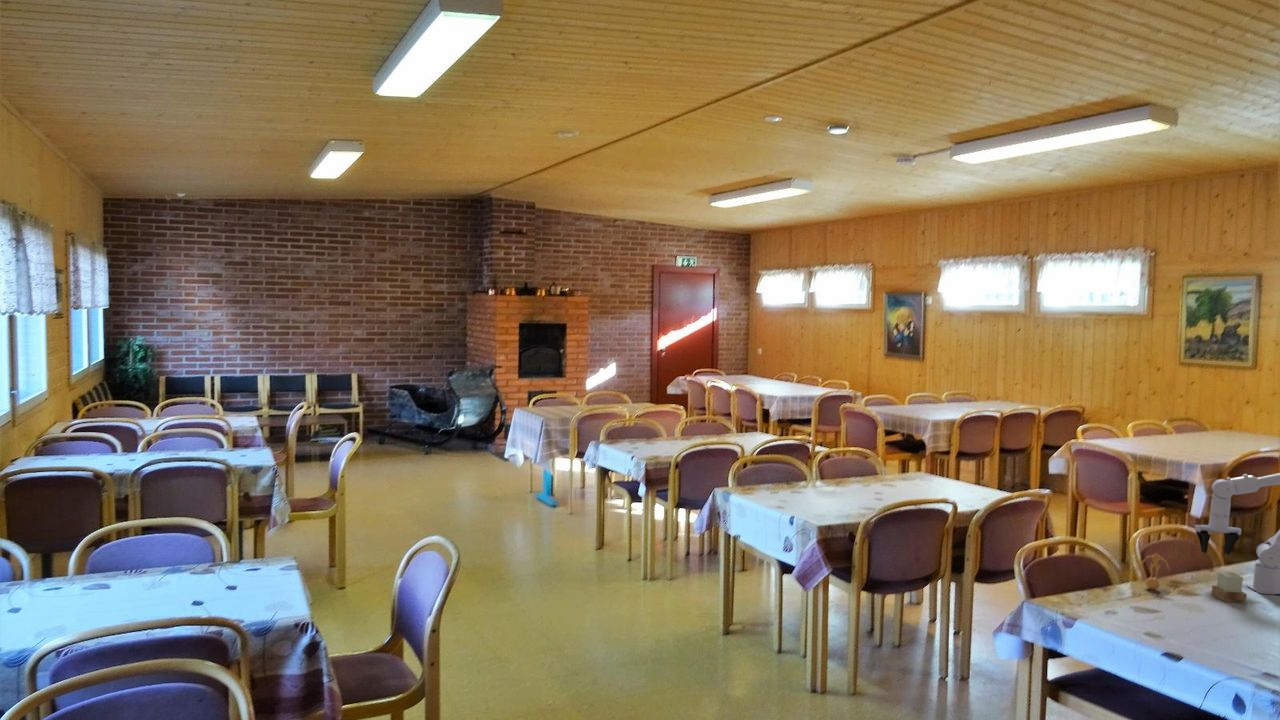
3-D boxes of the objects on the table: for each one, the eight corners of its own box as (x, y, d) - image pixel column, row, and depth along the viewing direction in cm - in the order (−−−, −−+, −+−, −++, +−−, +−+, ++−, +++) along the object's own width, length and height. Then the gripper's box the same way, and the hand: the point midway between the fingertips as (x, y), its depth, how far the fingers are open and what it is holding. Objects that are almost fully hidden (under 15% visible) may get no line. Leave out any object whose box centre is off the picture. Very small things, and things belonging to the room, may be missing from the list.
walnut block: (1233, 595, 304) (1234, 587, 304) (1245, 603, 297) (1246, 594, 297) (1211, 594, 304) (1212, 585, 304) (1223, 601, 297) (1224, 592, 297)
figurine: (1137, 587, 308) (1140, 552, 306) (1140, 583, 312) (1143, 549, 311) (1165, 593, 302) (1168, 558, 301) (1168, 589, 307) (1171, 554, 306)
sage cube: (1232, 587, 303) (1234, 572, 302) (1241, 592, 298) (1242, 577, 297) (1216, 586, 303) (1218, 571, 303) (1225, 591, 298) (1227, 576, 298)
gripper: (1204, 515, 312) (1200, 554, 313) (1248, 518, 311) (1243, 557, 313) (1193, 510, 319) (1189, 548, 320) (1236, 513, 318) (1231, 551, 320)
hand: (1215, 553), depth 317 cm, fingers open, 7 cm apart
